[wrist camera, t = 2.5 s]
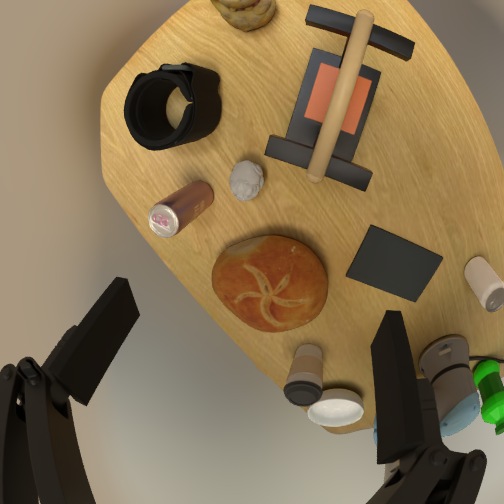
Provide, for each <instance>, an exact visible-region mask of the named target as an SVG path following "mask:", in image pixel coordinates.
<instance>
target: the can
mask: <svg viewBox="0 0 504 504" xmlns="http://www.w3.org/2000/svg"><path fill="white" fill-rule="evenodd" d="M464 276H465V279H466V280H467V282H468V284H469V285H470V287H471V288H472V290H473V292H474V293H475V295H476V297H477V298H478V300H479V302H480V303H481V305H482V306H483V307H484V308H485V309H486V310H487V311H488V312H495V311H497V310H499V309H500V308H501V307H502V306H503V305H504V283H503V282H502V280H501V279H500V278H499V276H498V275H497V274H496V273H495V271H494V270H493V269H492V267H491V266H490V265H489V264H488V263H487V261H486V260H485V259H484V258H483V257H479V256H478V257H474V258H472V259H471V260H470V261H469V262H468V263H467V265H466V267H465V270H464Z"/></svg>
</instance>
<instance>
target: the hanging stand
mask: <svg viewBox="0 0 504 504" xmlns="http://www.w3.org/2000/svg"><path fill="white" fill-rule="evenodd" d="M355 18H356V17H353V16H350V15H347V14H344V13H341V12H337V11H334V10H330V9H327V8H323V7H319V6H315V5H311V4H310V6H309V9H308V12H307V16H306V19H305V22H306V25H308V26H312V27H316V28H320V29H323V30H327V31H330V32H333V33H336V34H340V35H343V36H346V37H347V40H346V44H345V48H344V51H343V55H342V57H341V56H338V55H335V54H332V53H329V52H326V51H322V50H319V49H316V48H313V50H312V53H311V56H310V60H309V63H308V66H307V69H306V73H305V76H304V79H303V82H302V85H301V89H300V92H299V95H298V98H297V102H296V105H295V108H294V111H293V115H292V118H291V121H290V124H289V128H288V131H287V134H286V137H285V138H283V137H280V136H277V135H274V134H273V135H270V137H269V140H268V143H267V147H266V150H265V154H264V155H266V156H269V157H272V158H275V159H278V160H281V161H284V162H287V163H290V164H293V165H296V166H299V167H302V168H304V169H308V166H309V163H310V160H311V157H312V154H313V151H314V148H315V145H316V142H317V139H318V136H319V133H320V130H321V127H322V124H323V123H321V122H318V121H315V120H312V119H309V118H306V117H304V115H305V112H306V109H307V106H308V103H309V99H310V96H311V93H312V90H313V87H314V84H315V80H316V77H317V74H318V71H319V67H320V64H321V63H324V64H327V65H330V66H333V67H336V68H339V69H340V68H341V65H342V61H343V58H344V55H345V51H346V48H347V45H348V41H349V38H350V35H351V31H352V28H353V24H354V21H355ZM367 45H370V46H373V47H375V48H378V49H380V50H382V51H385V52H387V53H389V54H392V55H394V56H396V57H398V58H400V59H402V60H404V61H408V60H410V59H411V57H412V53H413V49H414V45H415V42H413V41H411V40H409V39H407V38H405V37H403V36H401V35H398V34H396V33H394V32H392V31H389V30H387V29H385V28H382V27H380V26H377V25H375V24H373V26H372V30H371V33H370V37H369V40H368V44H367ZM380 75H381V72H380V71H377V70H375V69H373V68H370V67H368V66H365V65H363V64H361V68H360V71H359V74H358V76H361V77H363V78H366V79H368V80H370V81H372V82H371V86H370V89H369V92H368V95H367V98H366V101H365V104H364V107H363V111H362V114H361V117H360V119H359V122H358V125H357V128H356V131H355V134H354V135H353V134H350V133H348V132H345V131H343V130H340V133H339V135H338V138H337V141H336V144H335V147H334V150H333V153H332V156H331V158H330V161H329V164H328V167H327V170H326V172H325V175H324V176H326V177H329V178H331V179H334V180H337V181H339V182H342V183H344V184H347V185H349V186H352V187H354V188H357V189H359V190H361V191H364V192H365V191H366V189H367V186H368V184H369V181H370V179H371V176H372V174H373V173H372V172H371V170H369V169H367V168H364V167H362V166H360V165H357V164H355V163H352V162H351V161H352V159H353V156H354V153H355V150H356V148H357V145H358V142H359V139H360V136H361V134H362V131H363V128H364V125H365V122H366V119H367V116H368V113H369V110H370V107H371V104H372V101H373V98H374V95H375V91H376V88H377V85H378V82H379V79H380Z"/></svg>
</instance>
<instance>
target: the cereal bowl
mask: <svg viewBox="0 0 504 504" xmlns="http://www.w3.org/2000/svg"><path fill="white" fill-rule="evenodd" d="M363 406H364V405H363V401H362V399H361V398H360V396H359V395H358V394H356V393H355V392H353V391H350V390H347V389H340V388H339V389H337V388H336V389H329V390H325V391H323V394H322V396H321V398H320V400H319V401H317V402H316V403H314V404H313V405H310V406H308V412H307V413H308V417H309V418H310V419H311V420H312V421H313V422H315V423H317V424H320V425H323V426H331V427H337V426H345V425H349V424H351V423H354V422H356V421H357V420H359V419H360V418H361V417H362V415H363V413H364V407H363Z"/></svg>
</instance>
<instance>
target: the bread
mask: <svg viewBox="0 0 504 504" xmlns="http://www.w3.org/2000/svg"><path fill="white" fill-rule="evenodd" d="M212 285H213V289H214V292H215V293H216V295H217V296H218V298H219V299H220V300H221V302H222V303H223V304H224V305H225V306H226V307H227V308H228V309H229V310H230V311H231V312H232V313H233V314H234V315H236V316H237V317H238V318H239V319H240V320H241V321H243V322H244V323H246V324H247V325H249V326H250V327H253V328H255V329H257V330H260V331H263V332H271V333H275V332H283V331H288V330H291V329H295V328H298V327H301V326H303V325H305V324H307V323H309V322H311V321H312V320H313V319H315V318H316V317H317V316H318V315H319V313H320V312H321V310H322V309H323V307H324V304H325V302H326V299H327V295H328V279H327V275H326V272H325V270H324V268H323V266H322V264H321V262H320V261H319V259H318V258H317V256H316V255H315V254H314V252H313V251H312V250H311V249H309V248H308V247H307V246H305V245H304V244H302V243H300V242H298V241H296V240H293V239H290V238H286V237H282V236H276V235H269V236H262V237H257V238H251V239H248V240H245V241H243V242H240V243H237V244H235V245H232V246H230V247H229V248H227V249H226V250H225V251H224V252H223V253H222V254H221V255H220V256H219V257H218V259H217V260H216V262H215V264H214V267H213V270H212Z"/></svg>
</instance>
